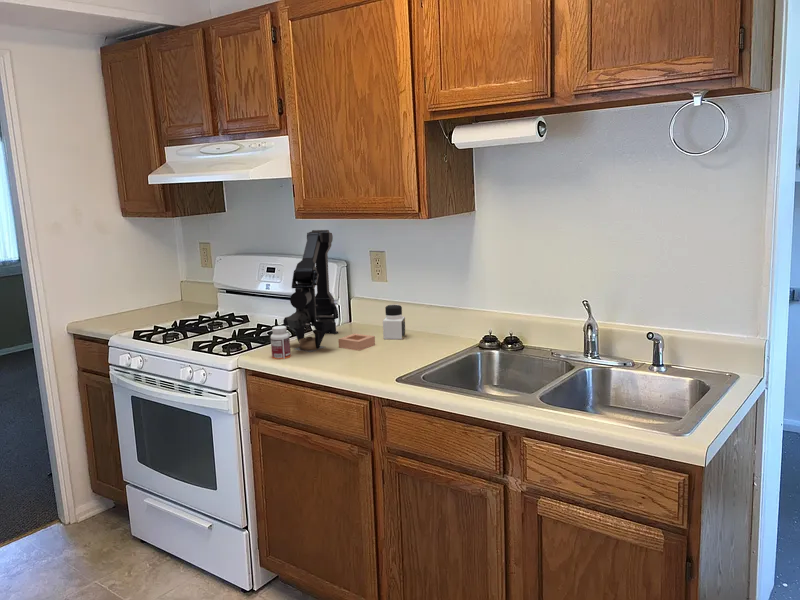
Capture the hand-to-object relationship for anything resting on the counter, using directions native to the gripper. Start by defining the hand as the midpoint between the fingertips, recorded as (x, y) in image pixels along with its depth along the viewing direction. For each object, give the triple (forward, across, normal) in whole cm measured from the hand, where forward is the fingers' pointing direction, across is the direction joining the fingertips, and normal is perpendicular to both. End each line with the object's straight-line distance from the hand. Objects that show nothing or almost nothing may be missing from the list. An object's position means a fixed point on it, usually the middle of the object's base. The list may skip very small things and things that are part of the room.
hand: (309, 347), depth 244 cm
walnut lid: (0, 0, 0) cm, 0 cm away
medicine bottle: (+2, +15, +30) cm, 34 cm away
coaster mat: (+1, 0, 0) cm, 1 cm away
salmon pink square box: (+1, +13, +10) cm, 16 cm away
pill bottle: (+2, -1, -13) cm, 13 cm away
